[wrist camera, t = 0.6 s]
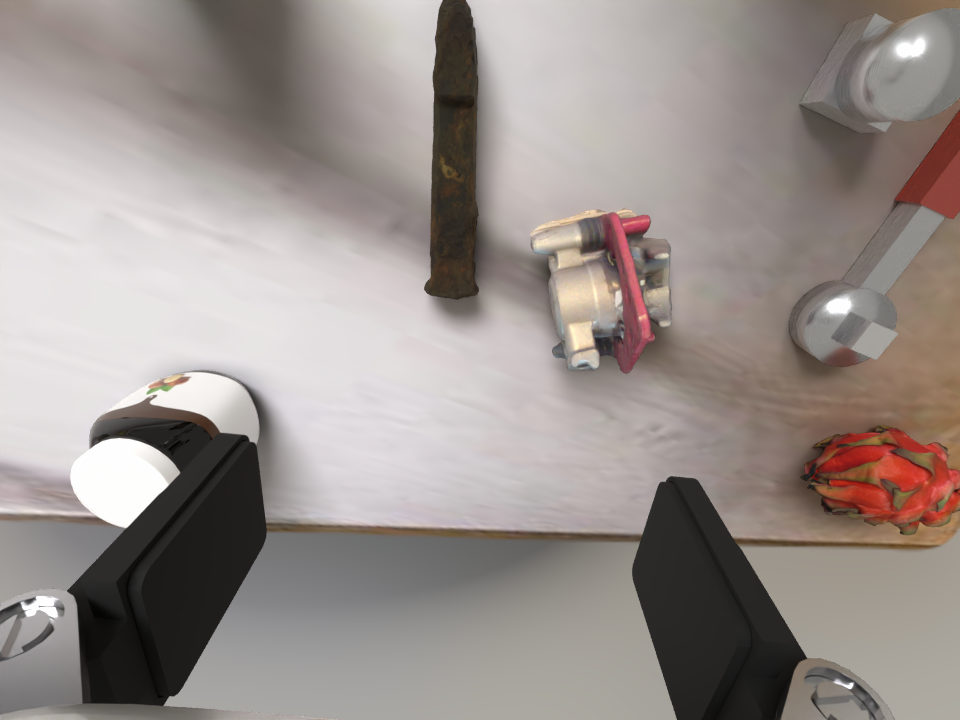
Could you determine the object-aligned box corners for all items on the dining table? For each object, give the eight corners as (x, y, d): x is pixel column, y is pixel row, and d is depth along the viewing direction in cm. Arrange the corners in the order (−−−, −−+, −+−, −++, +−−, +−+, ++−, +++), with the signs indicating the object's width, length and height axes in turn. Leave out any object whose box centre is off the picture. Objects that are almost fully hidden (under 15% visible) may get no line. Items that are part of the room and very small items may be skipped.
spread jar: (260, 365, 41) (179, 444, 30) (285, 472, 46) (222, 572, 35) (124, 366, 41) (-3, 443, 31) (162, 472, 46) (64, 570, 36)
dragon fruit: (909, 451, 45) (771, 437, 46) (984, 415, 37) (816, 400, 39) (937, 547, 41) (784, 527, 42) (1027, 528, 33) (838, 505, 35)
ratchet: (999, 16, 29) (1092, -7, 25) (1074, 57, 30) (1177, 42, 26) (773, 336, 39) (810, 362, 34) (835, 362, 39) (879, 390, 35)
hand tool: (477, 289, 38) (476, 307, 34) (427, 284, 38) (419, 302, 34) (505, -2, 30) (507, -25, 26) (441, -9, 30) (433, -33, 26)
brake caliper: (707, 342, 36) (646, 423, 28) (578, 331, 43) (501, 393, 35) (706, 187, 32) (634, 233, 24) (562, 202, 39) (470, 241, 31)
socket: (847, 17, 30) (926, -10, 24) (914, 53, 30) (1006, 33, 25) (794, 105, 32) (857, 98, 26) (859, 137, 32) (933, 136, 27)
